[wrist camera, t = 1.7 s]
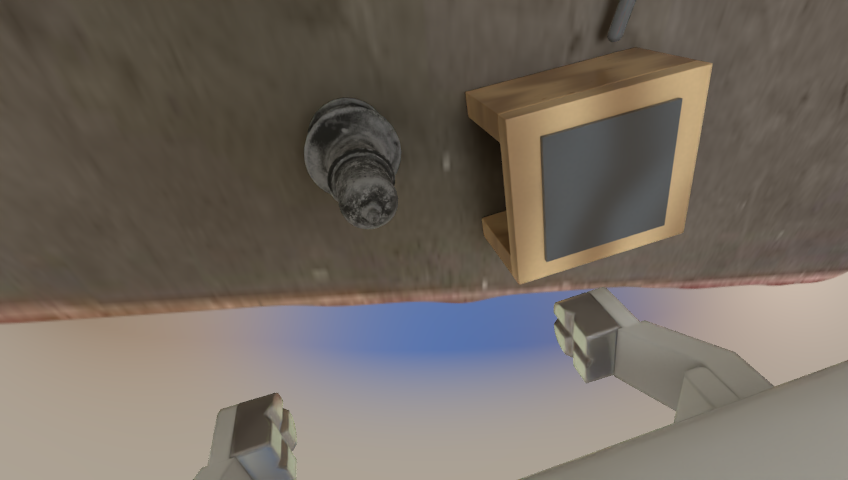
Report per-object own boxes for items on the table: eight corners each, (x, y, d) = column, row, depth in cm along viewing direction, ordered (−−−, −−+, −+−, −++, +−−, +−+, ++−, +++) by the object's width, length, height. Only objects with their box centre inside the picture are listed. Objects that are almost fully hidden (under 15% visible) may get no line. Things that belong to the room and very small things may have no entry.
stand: (483, 235, 36) (520, 287, 30) (464, 91, 30) (507, 121, 24) (624, 193, 38) (686, 234, 32) (635, 46, 31) (717, 63, 25)
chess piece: (382, 182, 32) (422, 277, 22) (298, 172, 30) (300, 271, 20) (398, 101, 29) (452, 166, 19) (307, 85, 27) (314, 148, 17)
